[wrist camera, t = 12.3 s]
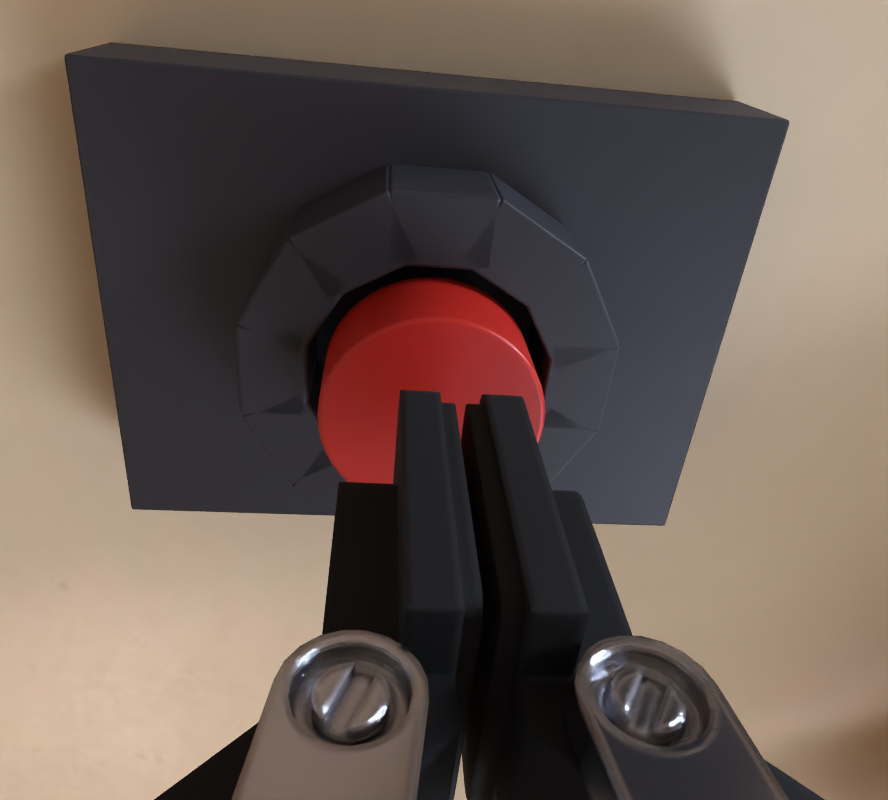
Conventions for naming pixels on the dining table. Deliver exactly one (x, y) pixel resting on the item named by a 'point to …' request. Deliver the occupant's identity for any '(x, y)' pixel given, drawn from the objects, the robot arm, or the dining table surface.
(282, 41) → the dining table surface
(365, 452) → the button
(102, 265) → the control block
